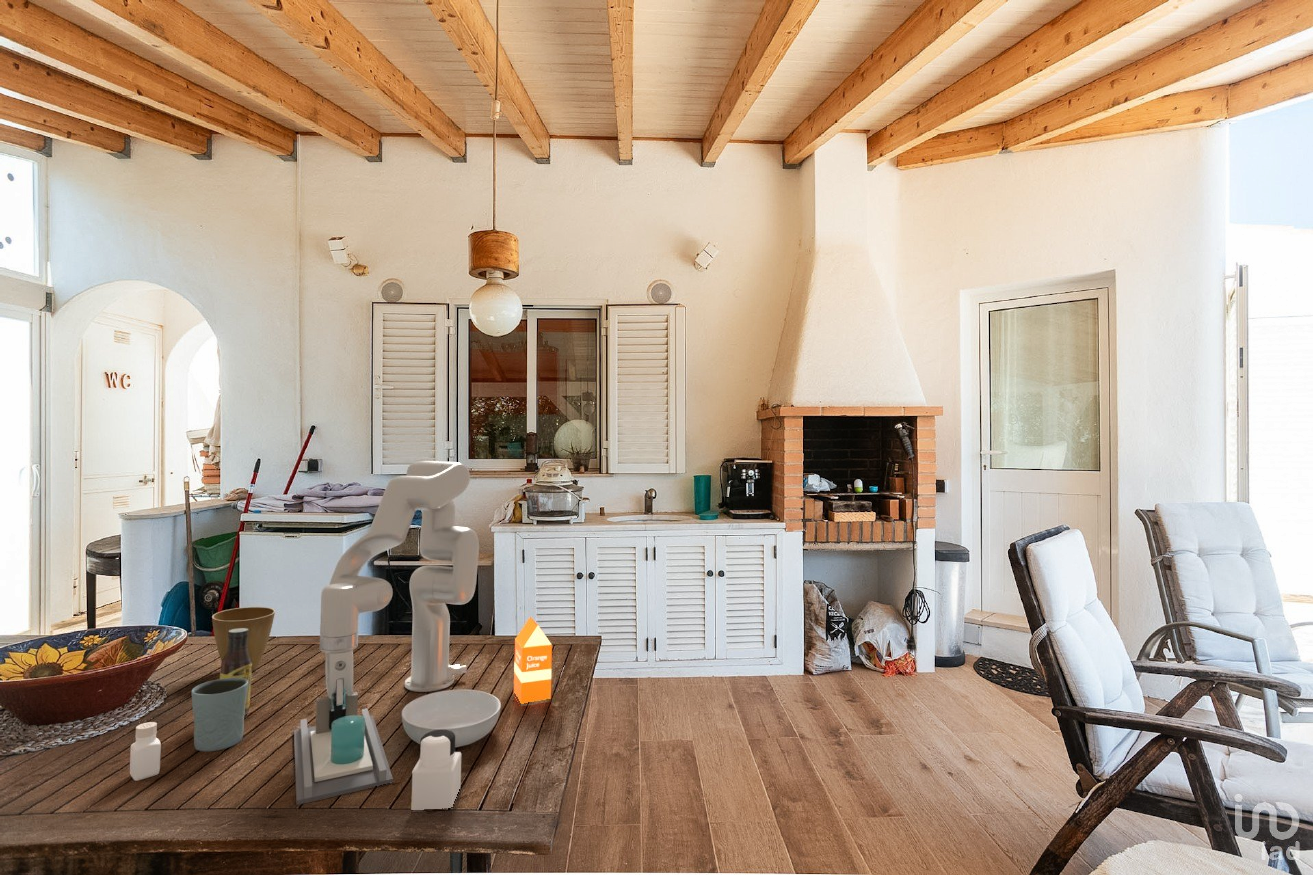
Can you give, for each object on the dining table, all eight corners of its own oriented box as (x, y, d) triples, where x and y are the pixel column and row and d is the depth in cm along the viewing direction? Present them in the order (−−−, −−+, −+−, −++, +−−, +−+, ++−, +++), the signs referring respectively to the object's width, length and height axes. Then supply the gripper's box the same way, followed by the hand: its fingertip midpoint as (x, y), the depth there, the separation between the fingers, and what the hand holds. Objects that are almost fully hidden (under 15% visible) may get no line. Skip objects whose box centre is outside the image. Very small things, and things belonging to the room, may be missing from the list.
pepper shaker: (154, 767, 125) (156, 719, 125) (160, 774, 123) (162, 724, 123) (128, 775, 122) (130, 725, 122) (134, 782, 119) (135, 731, 120)
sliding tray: (360, 725, 143) (361, 690, 143) (372, 769, 124) (373, 729, 124) (310, 735, 138) (311, 698, 138) (314, 782, 119) (315, 740, 119)
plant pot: (199, 681, 170) (201, 621, 170) (223, 662, 184) (225, 607, 185) (262, 677, 173) (264, 618, 174) (280, 659, 188) (282, 605, 188)
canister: (362, 747, 132) (363, 713, 132) (365, 759, 126) (366, 724, 126) (329, 753, 128) (330, 718, 129) (331, 766, 123) (332, 730, 123)
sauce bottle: (233, 722, 146) (236, 635, 146) (210, 719, 147) (213, 633, 147) (256, 711, 152) (259, 627, 152) (234, 708, 153) (237, 625, 154)
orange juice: (520, 707, 158) (522, 626, 158) (513, 694, 166) (515, 617, 166) (551, 702, 161) (553, 623, 161) (542, 690, 169) (544, 614, 169)
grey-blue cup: (202, 757, 129) (204, 698, 130) (180, 744, 135) (182, 687, 135) (255, 738, 138) (257, 683, 138) (232, 727, 143) (234, 673, 144)
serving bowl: (406, 770, 126) (407, 735, 127) (396, 727, 145) (396, 697, 145) (510, 749, 136) (511, 716, 136) (488, 712, 155) (489, 683, 155)
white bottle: (421, 790, 119) (423, 725, 119) (460, 789, 120) (462, 725, 120) (410, 812, 112) (412, 743, 112) (451, 811, 113) (453, 742, 113)
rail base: (372, 719, 149) (373, 707, 149) (392, 782, 121) (393, 767, 121) (294, 733, 141) (294, 720, 141) (296, 804, 113) (296, 789, 113)
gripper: (361, 648, 135) (359, 736, 135) (354, 629, 149) (351, 708, 149) (321, 653, 131) (319, 743, 131) (317, 633, 145) (315, 715, 145)
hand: (336, 724), depth 140 cm, fingers closed on sliding tray, 2 cm apart
